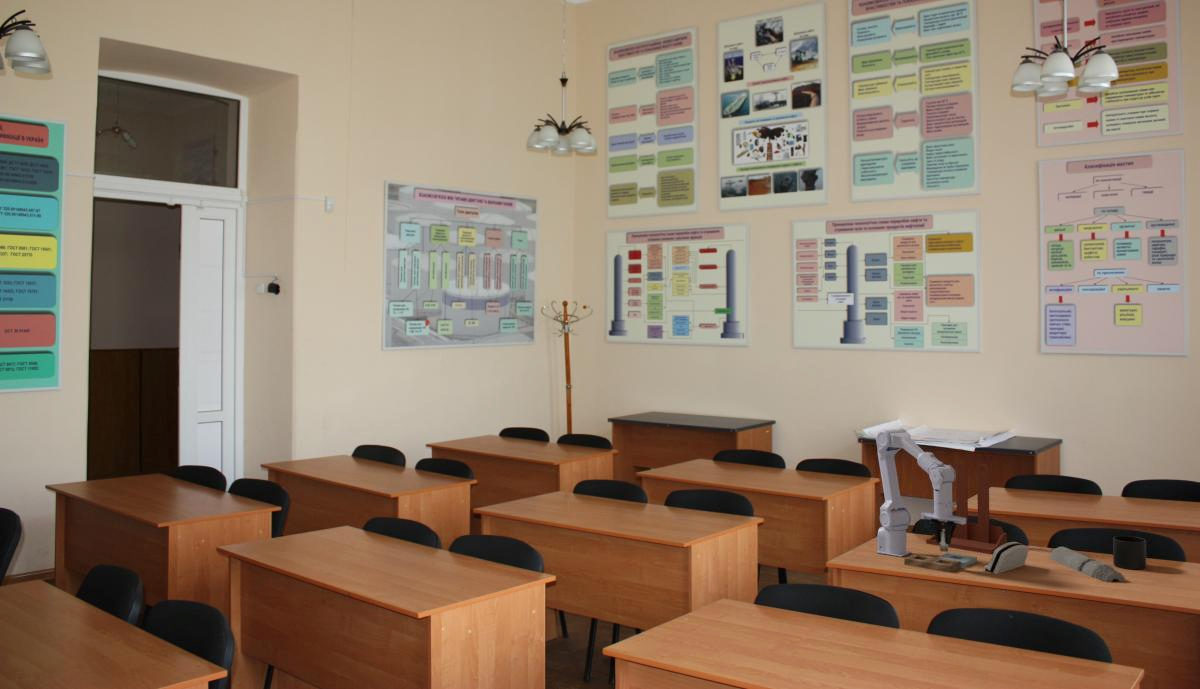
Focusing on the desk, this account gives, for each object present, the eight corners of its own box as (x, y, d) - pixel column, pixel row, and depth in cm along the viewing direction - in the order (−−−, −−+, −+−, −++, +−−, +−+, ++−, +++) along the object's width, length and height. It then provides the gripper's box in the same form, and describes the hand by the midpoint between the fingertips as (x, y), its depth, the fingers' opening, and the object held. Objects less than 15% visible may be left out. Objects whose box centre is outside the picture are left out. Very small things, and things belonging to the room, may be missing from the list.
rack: (904, 564, 318) (904, 558, 318) (915, 559, 323) (914, 553, 323) (950, 572, 307) (950, 566, 306) (960, 567, 312) (960, 561, 312)
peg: (938, 550, 312) (938, 529, 312) (941, 549, 314) (941, 528, 314) (946, 552, 310) (946, 530, 310) (949, 550, 312) (949, 529, 312)
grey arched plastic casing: (1010, 562, 317) (1019, 536, 314) (1023, 569, 314) (1032, 543, 311) (982, 570, 308) (991, 544, 305) (994, 578, 304) (1004, 551, 301)
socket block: (935, 562, 319) (935, 558, 319) (948, 556, 326) (948, 552, 326) (965, 567, 312) (964, 562, 312) (977, 561, 320) (977, 556, 319)
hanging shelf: (926, 543, 346) (925, 462, 345) (943, 537, 355) (942, 458, 354) (990, 554, 328) (989, 469, 328) (1007, 548, 337) (1006, 465, 337)
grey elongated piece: (1073, 546, 322) (1128, 568, 292) (1073, 558, 322) (1128, 582, 292) (1049, 547, 322) (1102, 570, 292) (1049, 559, 322) (1102, 583, 292)
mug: (1127, 559, 317) (1127, 533, 317) (1152, 569, 305) (1152, 541, 305) (1102, 561, 316) (1101, 534, 316) (1126, 570, 304) (1126, 542, 304)
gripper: (969, 503, 309) (970, 543, 310) (927, 498, 320) (927, 537, 320) (960, 506, 304) (961, 547, 305) (918, 501, 314) (918, 541, 315)
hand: (943, 543), depth 312 cm, fingers closed on peg, 3 cm apart
